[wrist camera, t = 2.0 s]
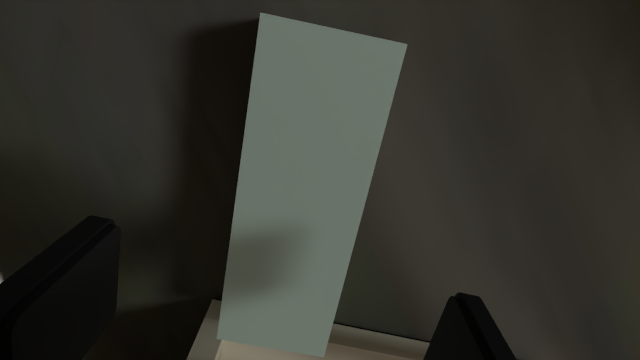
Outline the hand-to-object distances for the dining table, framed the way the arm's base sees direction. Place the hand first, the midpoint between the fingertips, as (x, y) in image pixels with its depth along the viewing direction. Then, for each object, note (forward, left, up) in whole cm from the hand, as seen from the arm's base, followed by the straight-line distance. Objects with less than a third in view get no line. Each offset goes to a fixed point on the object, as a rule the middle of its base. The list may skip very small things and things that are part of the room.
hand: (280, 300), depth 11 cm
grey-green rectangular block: (0, 0, -9) cm, 9 cm away
